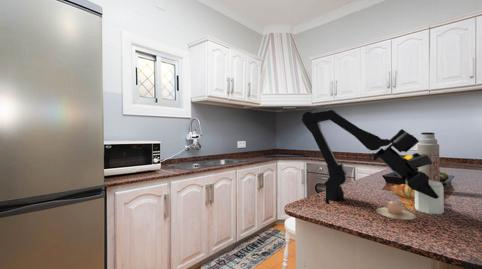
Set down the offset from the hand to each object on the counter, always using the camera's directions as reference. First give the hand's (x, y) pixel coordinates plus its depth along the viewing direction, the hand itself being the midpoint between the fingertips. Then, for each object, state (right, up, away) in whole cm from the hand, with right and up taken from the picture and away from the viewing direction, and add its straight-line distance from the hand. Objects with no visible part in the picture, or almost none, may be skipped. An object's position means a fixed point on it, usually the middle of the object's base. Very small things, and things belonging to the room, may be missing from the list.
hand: (433, 195), depth 76 cm
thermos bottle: (+23, -6, +30) cm, 38 cm away
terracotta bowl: (-14, -6, -2) cm, 16 cm away
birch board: (-14, -7, -2) cm, 16 cm away
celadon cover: (-1, -7, +1) cm, 7 cm away
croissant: (+8, -7, +19) cm, 22 cm away
